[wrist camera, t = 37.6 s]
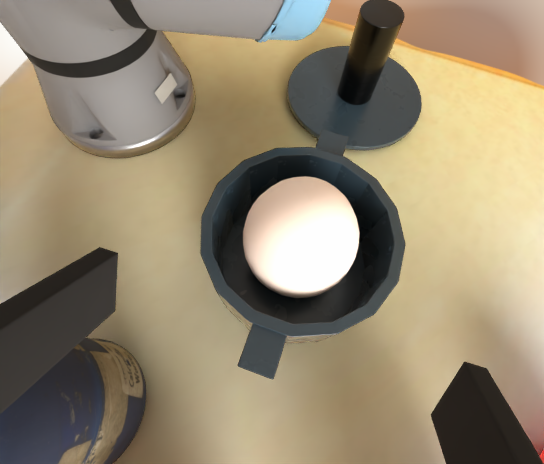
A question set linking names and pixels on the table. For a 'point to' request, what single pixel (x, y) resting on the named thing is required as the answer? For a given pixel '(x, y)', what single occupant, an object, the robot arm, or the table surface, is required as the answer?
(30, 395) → the canister
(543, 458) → the apple
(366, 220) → the pot
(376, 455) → the table surface
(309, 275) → the egg
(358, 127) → the lid
